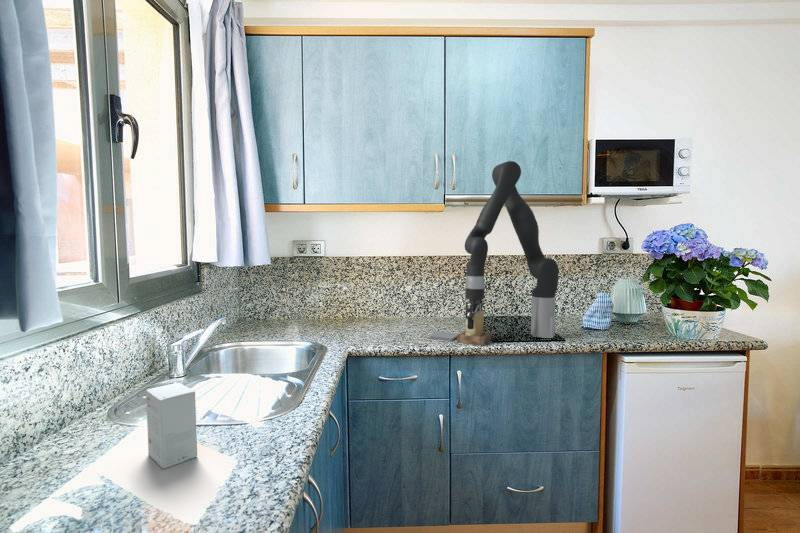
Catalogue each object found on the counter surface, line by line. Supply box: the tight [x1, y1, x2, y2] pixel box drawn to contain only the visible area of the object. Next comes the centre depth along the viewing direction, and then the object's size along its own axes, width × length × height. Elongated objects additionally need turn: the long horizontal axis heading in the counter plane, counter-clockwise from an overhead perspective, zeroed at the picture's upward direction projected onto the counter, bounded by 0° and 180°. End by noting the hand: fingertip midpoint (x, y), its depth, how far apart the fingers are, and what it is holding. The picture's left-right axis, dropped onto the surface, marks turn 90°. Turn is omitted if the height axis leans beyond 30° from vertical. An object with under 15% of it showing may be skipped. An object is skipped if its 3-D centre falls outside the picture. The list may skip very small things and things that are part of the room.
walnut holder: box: [456, 329, 492, 347], centre depth 175 cm, size 11×11×3 cm
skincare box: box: [465, 310, 485, 337], centre depth 175 cm, size 6×4×12 cm
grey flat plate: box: [428, 330, 460, 342], centre depth 182 cm, size 10×10×1 cm
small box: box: [145, 381, 198, 470], centre depth 84 cm, size 8×6×13 cm
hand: (473, 327), depth 175 cm, fingers open, 8 cm apart
